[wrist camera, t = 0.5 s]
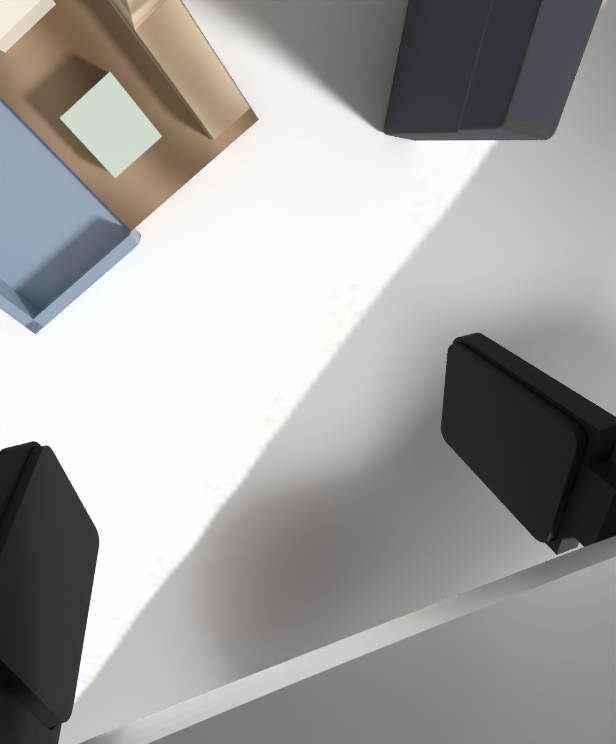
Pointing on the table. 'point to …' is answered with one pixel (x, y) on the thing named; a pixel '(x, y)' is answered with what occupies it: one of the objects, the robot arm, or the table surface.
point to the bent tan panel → (185, 61)
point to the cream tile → (20, 18)
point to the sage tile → (111, 125)
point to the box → (49, 228)
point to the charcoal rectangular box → (487, 68)
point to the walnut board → (79, 75)
